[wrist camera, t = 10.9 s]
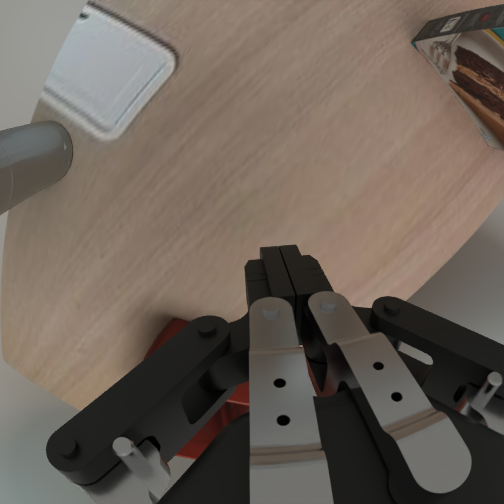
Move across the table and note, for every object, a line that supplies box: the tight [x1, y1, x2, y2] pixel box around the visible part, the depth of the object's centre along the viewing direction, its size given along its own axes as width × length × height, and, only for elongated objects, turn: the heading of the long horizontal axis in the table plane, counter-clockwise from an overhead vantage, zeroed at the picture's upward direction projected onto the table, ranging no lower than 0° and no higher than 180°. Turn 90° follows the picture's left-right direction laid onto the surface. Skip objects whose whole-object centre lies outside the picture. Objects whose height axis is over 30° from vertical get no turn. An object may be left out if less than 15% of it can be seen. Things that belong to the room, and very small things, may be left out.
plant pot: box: [143, 319, 250, 460], centre depth 45 cm, size 19×19×17 cm
